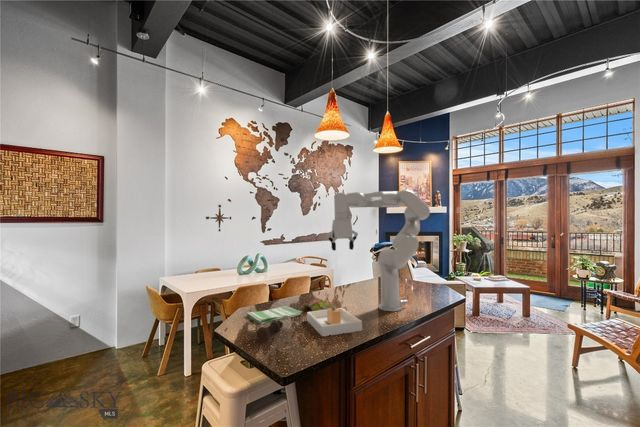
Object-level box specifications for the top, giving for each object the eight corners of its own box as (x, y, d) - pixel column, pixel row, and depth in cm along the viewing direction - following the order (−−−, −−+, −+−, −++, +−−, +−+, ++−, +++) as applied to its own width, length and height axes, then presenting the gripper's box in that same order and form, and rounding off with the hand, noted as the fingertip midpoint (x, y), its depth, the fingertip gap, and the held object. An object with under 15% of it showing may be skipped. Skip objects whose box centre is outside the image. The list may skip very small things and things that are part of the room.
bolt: (281, 332, 131) (263, 344, 117) (272, 326, 133) (254, 337, 119) (287, 322, 131) (270, 332, 117) (278, 315, 132) (260, 324, 118)
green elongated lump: (318, 317, 142) (300, 296, 165) (320, 330, 144) (302, 308, 167) (340, 309, 147) (320, 290, 170) (341, 322, 148) (321, 301, 171)
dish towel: (303, 315, 151) (303, 310, 151) (261, 326, 136) (261, 320, 137) (284, 308, 165) (284, 303, 165) (245, 317, 151) (244, 311, 151)
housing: (341, 315, 147) (341, 307, 148) (362, 330, 127) (362, 321, 127) (307, 320, 142) (307, 312, 142) (322, 336, 121) (322, 326, 121)
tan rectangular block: (335, 321, 136) (335, 304, 136) (340, 325, 130) (340, 307, 131) (327, 322, 135) (327, 305, 135) (332, 326, 129) (331, 308, 129)
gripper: (353, 216, 160) (354, 248, 160) (323, 217, 155) (324, 250, 154) (360, 216, 153) (361, 249, 153) (328, 216, 148) (329, 251, 147)
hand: (342, 249), depth 153 cm, fingers open, 9 cm apart
